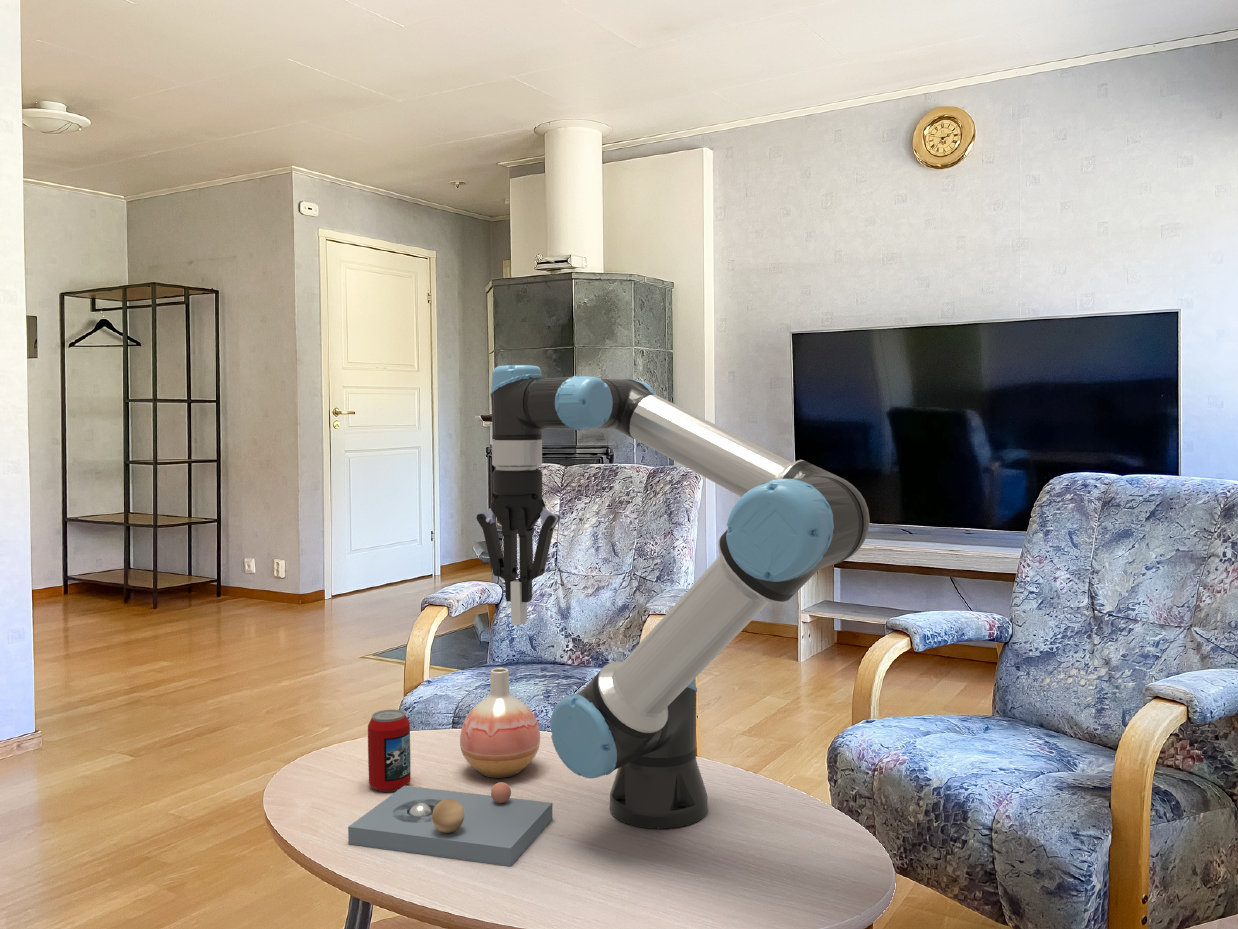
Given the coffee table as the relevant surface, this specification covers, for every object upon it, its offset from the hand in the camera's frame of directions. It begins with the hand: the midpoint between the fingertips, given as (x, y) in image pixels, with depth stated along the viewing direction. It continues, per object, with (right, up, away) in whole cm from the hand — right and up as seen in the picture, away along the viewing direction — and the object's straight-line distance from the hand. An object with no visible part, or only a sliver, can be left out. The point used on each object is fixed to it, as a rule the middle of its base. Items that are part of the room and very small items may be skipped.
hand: (519, 622), depth 147 cm
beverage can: (-23, -29, +12) cm, 39 cm away
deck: (-9, -30, -5) cm, 32 cm away
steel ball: (-14, -28, -4) cm, 32 cm away
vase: (-5, -29, +19) cm, 35 cm away
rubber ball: (-3, -26, -1) cm, 26 cm away
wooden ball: (-9, -25, -11) cm, 29 cm away
